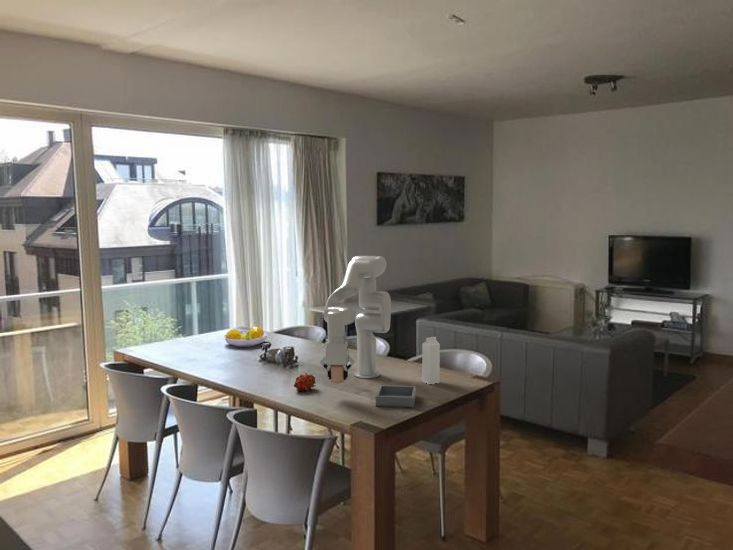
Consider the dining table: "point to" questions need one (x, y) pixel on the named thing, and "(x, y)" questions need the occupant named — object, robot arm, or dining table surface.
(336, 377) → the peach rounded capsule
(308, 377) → the dragon fruit
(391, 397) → the bin
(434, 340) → the milk
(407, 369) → the dining table surface
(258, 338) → the fruit bowl
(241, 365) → the dining table surface
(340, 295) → the robot arm
